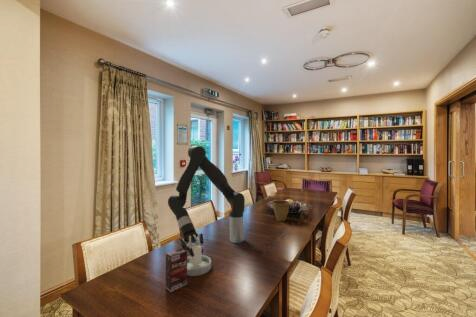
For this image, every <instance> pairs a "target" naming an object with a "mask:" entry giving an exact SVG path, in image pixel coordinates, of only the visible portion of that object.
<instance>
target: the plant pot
mask: <svg viewBox="0 0 476 317" xmlns="http://www.w3.org/2000/svg"><path fill="white" fill-rule="evenodd" d="M290 205H291V204H290V201H288V200H283V199H282V200H281V199H280V200H279V199H278V200H273V201H272V208H273V211H274V216H275V218H276V220H277V221H278V222H285V221H286V220H287V216H288V214H289V210H290Z"/></svg>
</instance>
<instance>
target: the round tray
mask: <svg viewBox="0 0 476 317" xmlns="http://www.w3.org/2000/svg"><path fill="white" fill-rule="evenodd" d="M211 269H212V259H211V257H209V256H208V255H204V254H202V263H201V264H198V265H196V266H193V265H192V264H191V263H190V255H188V256H187V276H190V277H195V276H202V275H204V274H207V273H208V272H209V271H210V270H211Z"/></svg>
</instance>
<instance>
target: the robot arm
mask: <svg viewBox="0 0 476 317" xmlns="http://www.w3.org/2000/svg"><path fill="white" fill-rule="evenodd" d="M187 155H188V157H189V162H188V165H187V167H186V168H185V170H184V172H182V175H181V176H180V178H179V180H178V183H177V185H176V187H175V190H176V192H178V195H174V194H173V195H171V196H169V197H168V200H167V204H168V207H169V209H170V210H171V212H172V213H173V214H174V215H175V218H176V222H177V226H178V229H179V230H180V233H181V236H182V238H180V239H179V241H178V243H179V245H180V246H181V248H182V249H184V250H186V251H187V252H188V253H189V256H192V257H193V256H194V253H193V250H192V249H191V245H192V244H193V245H194V244H198V245H200V246H203V244H204V243H205V242H204V234H203V233H198V232H197V231H196V228H195V226H194V223H193V221H192V219H191V216H190V214H189V212H188V210H187V209H186V208H184V207H185V206H186V202H187V200H188V198H187V196H188V191H189V189H190V187H191V184H192V182H193V179H194V177H195V176H196V172H197V171H198V170H199V168H200V169H201V171H202V172H203V173H204V174H205V176H206V177H207V179H208V180H209V181H210V182H211V183H212V185H214V187H216V189H217V190H219V192H221V194H222V195H223V196H224V198H225V199H226V201H227V202H228V203H229V204H230V205H231V206H232V209H231V210H230V211H229V241H230V243H232V244H240V243H243V242H244V241H245V225H244V212H245V206H246V205H245V202H246V200H245V196H244V194H242V193H241V192H238V191H236V190H234V188H232V187H231V186H230V184H229V182H228V179H227V177H226V175H225V174H224V172H222V170H221V169H220V168H219V167H218V166H217V165H215V164H214V163H213V162H211V160H210V159H208V157H207V156H206V149H205V148H204V147H203V146H200V145H192V146H190V147H189V148H188V149H187ZM201 253H202V254H203V253H204V249H203V248H202V251H201Z"/></svg>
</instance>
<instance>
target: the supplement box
mask: <svg viewBox="0 0 476 317" xmlns="http://www.w3.org/2000/svg"><path fill="white" fill-rule="evenodd" d="M187 257H188V250H184V249H183V248H182V247H181V248H180V249H176V250H173V251H170V252H167V253H165V288H166V290H168V291H169V292H170V293H173V292H174V291H175V290H178V289H180V288H183V287H184V286H186V285H188V275H187Z"/></svg>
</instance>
